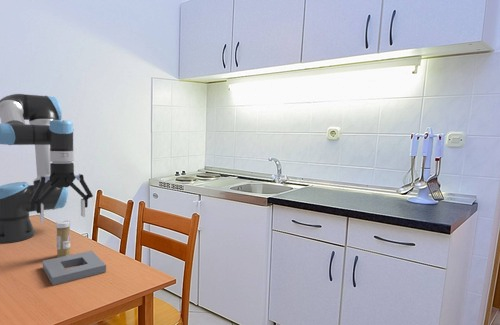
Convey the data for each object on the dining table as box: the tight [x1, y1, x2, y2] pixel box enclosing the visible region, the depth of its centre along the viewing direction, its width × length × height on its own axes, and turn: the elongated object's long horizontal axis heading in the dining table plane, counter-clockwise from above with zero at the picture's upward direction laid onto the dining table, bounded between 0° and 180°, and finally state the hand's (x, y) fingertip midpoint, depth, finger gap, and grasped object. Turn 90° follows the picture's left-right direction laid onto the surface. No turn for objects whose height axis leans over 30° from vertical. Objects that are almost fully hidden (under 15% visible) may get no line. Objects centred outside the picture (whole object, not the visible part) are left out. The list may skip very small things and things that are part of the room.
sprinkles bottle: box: [55, 219, 71, 258], centre depth 122 cm, size 5×5×13 cm
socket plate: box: [42, 250, 107, 286], centre depth 112 cm, size 16×16×2 cm
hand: (63, 218), depth 121 cm, fingers open, 13 cm apart
